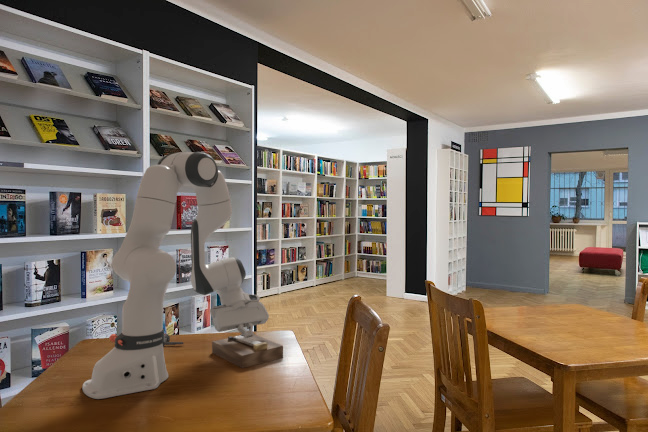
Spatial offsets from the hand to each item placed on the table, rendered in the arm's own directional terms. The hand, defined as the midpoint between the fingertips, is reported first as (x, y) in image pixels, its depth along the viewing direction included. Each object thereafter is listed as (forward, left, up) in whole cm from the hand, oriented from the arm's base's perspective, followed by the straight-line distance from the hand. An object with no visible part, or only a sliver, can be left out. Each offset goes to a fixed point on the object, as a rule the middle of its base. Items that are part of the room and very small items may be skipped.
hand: (249, 336), depth 149 cm
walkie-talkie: (-18, +35, -7) cm, 40 cm away
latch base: (0, +2, -7) cm, 7 cm away
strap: (0, +2, -2) cm, 3 cm away
